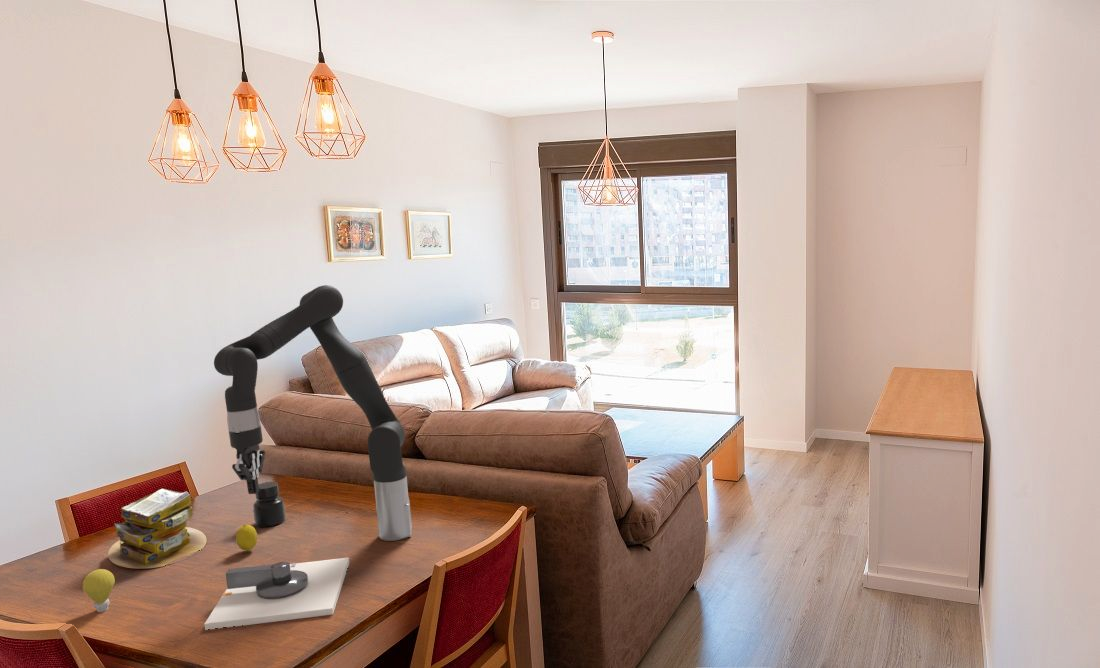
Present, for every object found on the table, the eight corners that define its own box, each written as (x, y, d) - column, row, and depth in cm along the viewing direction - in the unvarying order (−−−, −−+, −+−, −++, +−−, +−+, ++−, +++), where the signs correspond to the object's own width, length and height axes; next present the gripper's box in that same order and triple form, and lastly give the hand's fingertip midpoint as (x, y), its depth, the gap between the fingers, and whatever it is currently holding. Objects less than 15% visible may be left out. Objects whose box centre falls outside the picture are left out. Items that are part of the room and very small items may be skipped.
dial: (312, 573, 188) (310, 553, 187) (302, 595, 176) (299, 573, 175) (237, 581, 186) (235, 560, 185) (221, 604, 174) (219, 582, 174)
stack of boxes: (223, 544, 216) (216, 489, 214) (136, 578, 196) (128, 518, 194) (178, 529, 230) (171, 477, 228) (93, 560, 210) (85, 503, 208)
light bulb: (95, 604, 182) (89, 565, 181) (123, 601, 183) (118, 563, 182) (80, 617, 176) (74, 578, 174) (110, 615, 176) (104, 575, 175)
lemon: (251, 555, 206) (248, 528, 205) (233, 555, 207) (230, 527, 206) (262, 547, 211) (259, 520, 210) (245, 547, 212) (242, 520, 211)
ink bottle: (279, 514, 237) (275, 478, 236) (291, 520, 231) (287, 483, 230) (249, 523, 231) (244, 486, 229) (261, 530, 224) (256, 492, 223)
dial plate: (349, 562, 197) (348, 556, 197) (333, 614, 170) (332, 607, 169) (239, 575, 194) (239, 569, 193) (205, 630, 166) (204, 623, 166)
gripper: (243, 420, 192) (252, 485, 194) (216, 434, 179) (226, 503, 181) (271, 419, 191) (279, 483, 193) (245, 432, 178) (255, 501, 180)
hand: (253, 492), depth 187 cm, fingers closed
